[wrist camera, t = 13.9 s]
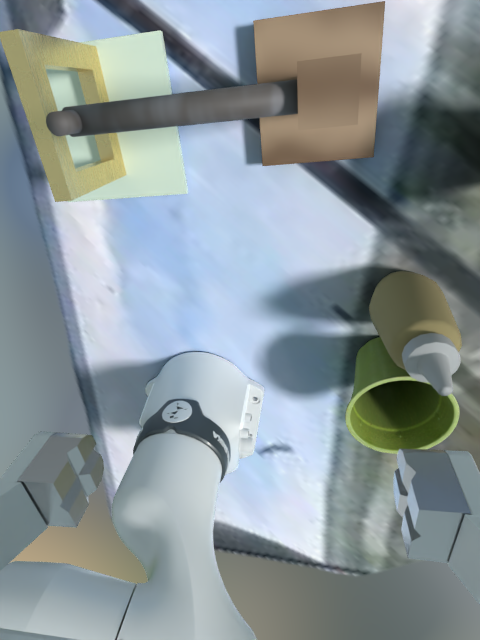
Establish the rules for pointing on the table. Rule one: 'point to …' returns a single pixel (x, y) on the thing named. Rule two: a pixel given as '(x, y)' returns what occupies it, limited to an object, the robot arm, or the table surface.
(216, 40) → the table surface
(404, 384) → the plant pot
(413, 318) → the squeeze bottle
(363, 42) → the hook stand
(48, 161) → the yellow picture frame
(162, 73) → the sage mat
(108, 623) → the robot arm
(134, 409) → the table surface
